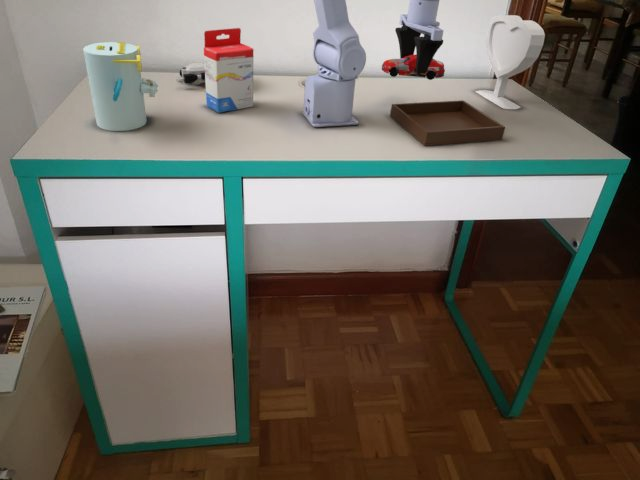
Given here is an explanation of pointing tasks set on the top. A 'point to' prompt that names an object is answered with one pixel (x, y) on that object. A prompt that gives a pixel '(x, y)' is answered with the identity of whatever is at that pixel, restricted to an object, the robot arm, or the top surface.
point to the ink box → (228, 71)
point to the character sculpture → (117, 85)
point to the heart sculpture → (510, 52)
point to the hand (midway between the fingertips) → (413, 68)
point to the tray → (446, 122)
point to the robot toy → (192, 74)
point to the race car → (412, 68)
